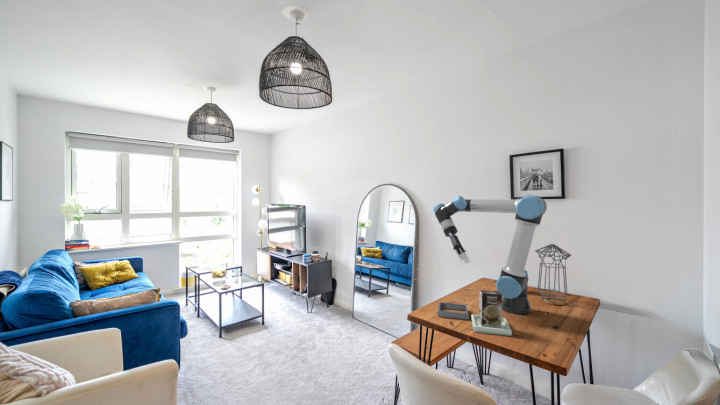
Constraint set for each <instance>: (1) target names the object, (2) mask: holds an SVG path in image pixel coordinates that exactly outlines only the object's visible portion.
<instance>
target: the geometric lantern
mask: <svg viewBox="0 0 720 405" xmlns="http://www.w3.org/2000/svg"><path fill="white" fill-rule="evenodd" d="M534 252H536V253H537V255H538V258H540V260H541V261H540V262H539V270H538V280H537V282H538V283H537V292H538V293H539V294H540V295H541V299H542V298H543V299H544V298H545V299H547V301H548V300H549V301H550V300H557V298H558V299H559V300H560V301H561V300H562V301H563V299H564V298H567V297H568V286H567V285H568V284H567V267H566V265H567V264H566V260H568V259H569V258H571V257H572V254H571V253H569V252H567V251H566V250H564V249H563V248H561V247H559V246H558V245H556V244H554V243H549V244H547V245H545V246H543V247H541V248H538V249H535V250H534ZM551 253H552V254H551ZM556 253H557V255H556ZM542 255H543V256H542ZM546 257H548V258H551V259H552V260H553V262H552V263H550V262H548V263H545V258H546ZM556 258H559V259H556ZM562 260H564V264H563V263H562ZM557 262H558V263H557ZM548 265H549V266H548ZM552 265H554V266H552ZM543 267H545V272H544V285H543V286H544V288H543V289H542V288H541V284H542V274H543ZM547 268H548V288H546V284H547V281H546V280H547ZM552 268H554V283H553V286H554V287H553V289H552V291H553V293H552V294H551V289H550V288H551V287H550V286H551V284H550V282H551V281H550V279H551V277H550V274H551V273H550V270H551V269H552ZM560 269H562V273H563V276H562V277H563V289H564V291H563V292H564V293H563V292H562V291H561V290H560V288H561V287H560V286H561V285H560V283H561V282H560ZM557 270H558V271H557ZM557 273H558V274H557ZM556 275H558V277H557V276H556ZM556 278H558V290H557V289H556ZM542 291H543V292H542ZM546 291H548V294H547V293H546ZM555 292H556V293H555ZM554 293H555V294H554ZM558 293H561V294H562V295H558ZM556 297H557V298H556Z"/></svg>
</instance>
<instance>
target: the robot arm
mask: <svg viewBox="0 0 720 405" xmlns="http://www.w3.org/2000/svg"><path fill="white" fill-rule="evenodd" d="M432 210H433V213H434V217H436V219H437V222H438V223H439V225H440V226H439V227H440V228H441V230H442V231H443V233H444V235H445V237H449V240H450V242H451V245H452V247H453V251H455V252H456V254H457V257H458V258H459V260H460V262H462V261H464V264H465V265H467V264H469V263H471V260H470V259H469V257H468V255H467V253H466V252H467V251H466V249H464V247H463V245H462V243H461V241H460V239H459V237H458V236H457V235H456V234H457V233H458V228H457V227H456V225H455V223H454V220H453V219H452V216H454V214H456V213H457V214H458V213H459V212H460V213H461V212H463V213H464V212H465V213H466V212H469V213H498V214H502V213H503V214H515V217H514V220H515V221H516V226H515V230H514V233H513V238H512V242H511V244H510V245H511V246H510V250H509V253H508V257H507V260H506V265H505V266H503V267H502V268H501V270H500V274H499V278H498V279H497V280H496V283H495V286H496V291H499V292H500V293H501V294H502V311H505V312H507V313H511V314H517V315H528V314H531V312H532V307H531V304H530V302H529V298H528V290H529V289H528V285H529V284H528V282H529V279H528V278H529V273H528V271H527V270H526V265H527V261H528V256H529V253H530V249H531V245H532V243H533V239H534V234H535V231H536V227H538V226H540V225H541V221H542V218H543V216H544V215H545V213H546V212H547V202H546V201H545V199H543V198H542V197H540V196H537V195H530V194H528V195H525V196H522V197H519V198H517V199H465V198H464V196H462V195H458V196H456V197H454V198H452V200H450V201H449V202H447V203H446V204H444V203H438V204H436V205H435V206H434V207H433V209H432Z"/></svg>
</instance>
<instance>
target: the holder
mask: <svg viewBox="0 0 720 405" xmlns="http://www.w3.org/2000/svg"><path fill="white" fill-rule="evenodd" d="M441 309H446V310H447V311H446V310H441ZM449 310H455V311H449ZM456 310H457V311H456ZM458 311H464V312H458ZM437 317H439V318H448V319H457V320H465V321H469V310H468V305H467V304H463V303H453V302H451V303H450V302H441V301H438V309H437Z"/></svg>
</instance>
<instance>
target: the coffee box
mask: <svg viewBox="0 0 720 405" xmlns="http://www.w3.org/2000/svg"><path fill="white" fill-rule="evenodd" d="M478 299H479V301H478V302H479V303H478V304H479V305H478V307H479V310H478V315H479V323H480V325H481V327H490V328H500V329H501V320H502V318H503V317H502V314H503V313H502V312H503V309H502V299H503V296H502V294H501V293H500V292H499V291H498V290H486V289H485V290H483V289H480V290H479V298H478Z"/></svg>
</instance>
